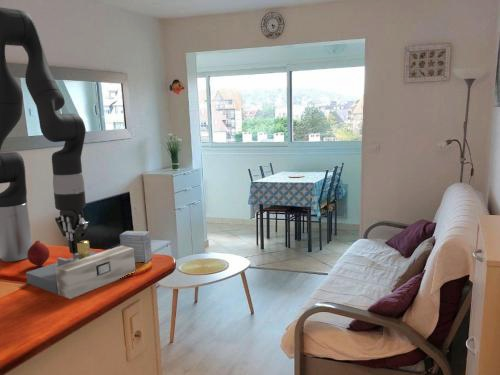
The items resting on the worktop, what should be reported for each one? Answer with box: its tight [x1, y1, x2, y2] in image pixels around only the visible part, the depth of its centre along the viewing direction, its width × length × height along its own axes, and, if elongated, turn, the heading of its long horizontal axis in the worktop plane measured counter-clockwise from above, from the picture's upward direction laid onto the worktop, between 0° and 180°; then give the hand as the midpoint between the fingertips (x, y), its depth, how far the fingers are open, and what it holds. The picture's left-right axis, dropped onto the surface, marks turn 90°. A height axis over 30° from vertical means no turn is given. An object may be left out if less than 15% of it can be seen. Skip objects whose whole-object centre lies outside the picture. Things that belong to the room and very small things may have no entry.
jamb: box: [55, 245, 136, 300], centre depth 110 cm, size 5×20×7 cm, turn 145°
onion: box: [27, 239, 51, 267], centre depth 124 cm, size 6×6×8 cm
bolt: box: [73, 240, 109, 274], centre depth 111 cm, size 11×3×7 cm, turn 55°
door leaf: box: [25, 250, 99, 295], centre depth 115 cm, size 14×20×5 cm
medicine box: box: [119, 230, 153, 264], centre depth 126 cm, size 8×4×9 cm, turn 78°
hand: (75, 252), depth 115 cm, fingers closed
